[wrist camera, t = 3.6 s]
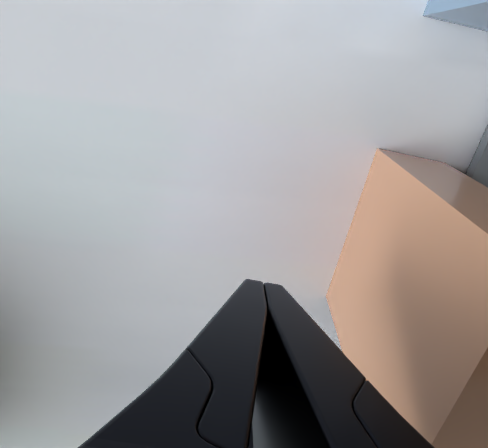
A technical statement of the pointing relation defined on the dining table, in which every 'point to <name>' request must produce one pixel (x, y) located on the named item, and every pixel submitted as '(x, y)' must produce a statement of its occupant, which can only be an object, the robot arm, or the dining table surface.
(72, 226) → the dining table surface
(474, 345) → the tan upright block
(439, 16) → the blue-grey picture frame
